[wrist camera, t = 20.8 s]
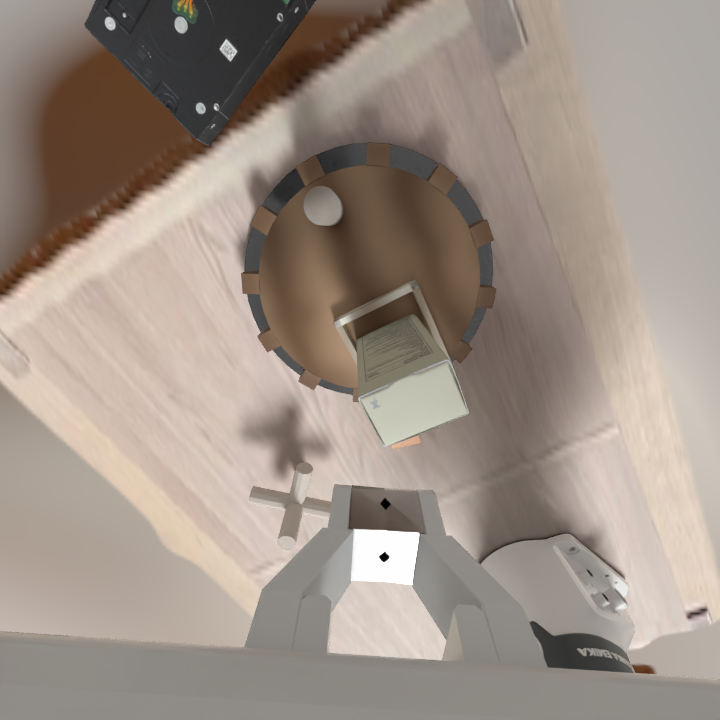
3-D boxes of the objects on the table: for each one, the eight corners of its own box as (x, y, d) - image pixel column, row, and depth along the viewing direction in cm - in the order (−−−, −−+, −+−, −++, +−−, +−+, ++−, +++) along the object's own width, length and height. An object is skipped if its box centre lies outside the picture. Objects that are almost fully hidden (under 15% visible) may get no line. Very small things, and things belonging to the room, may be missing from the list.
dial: (434, 91, 26) (463, 37, 19) (518, 337, 34) (563, 369, 26) (199, 230, 30) (146, 231, 23) (322, 423, 38) (312, 472, 30)
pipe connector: (269, 431, 39) (241, 494, 30) (351, 448, 40) (348, 515, 31) (257, 494, 43) (229, 568, 34) (333, 509, 44) (325, 585, 35)
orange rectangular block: (382, 400, 38) (385, 425, 33) (408, 395, 38) (415, 418, 33) (388, 422, 39) (392, 449, 34) (413, 417, 39) (420, 443, 34)
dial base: (542, 240, 31) (546, 241, 31) (402, 426, 39) (403, 429, 39) (318, 80, 27) (317, 77, 26) (210, 326, 35) (207, 327, 34)
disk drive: (214, 150, 29) (327, -12, 25) (199, 143, 27) (323, -39, 23) (107, 45, 27) (215, -156, 23) (80, 26, 24) (196, -205, 20)
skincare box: (373, 375, 33) (380, 452, 22) (355, 338, 32) (351, 399, 21) (433, 350, 32) (473, 416, 21) (417, 310, 31) (450, 358, 20)
